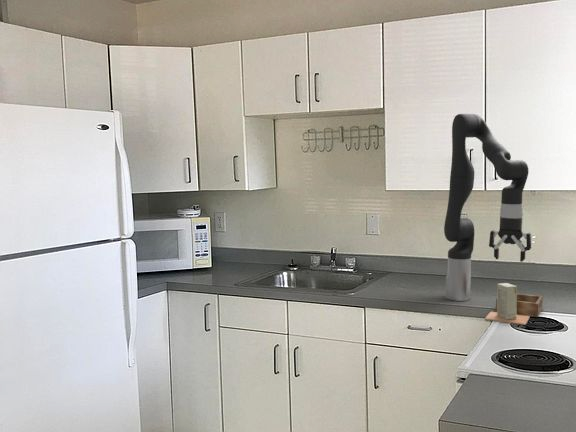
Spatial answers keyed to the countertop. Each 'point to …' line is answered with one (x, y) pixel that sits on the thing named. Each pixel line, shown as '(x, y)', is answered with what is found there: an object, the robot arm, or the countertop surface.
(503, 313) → the skincare box
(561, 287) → the countertop surface
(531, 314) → the frame
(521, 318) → the terracotta tile
